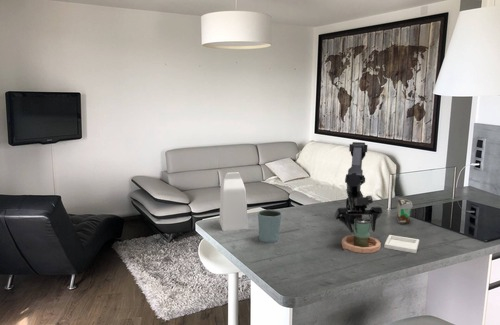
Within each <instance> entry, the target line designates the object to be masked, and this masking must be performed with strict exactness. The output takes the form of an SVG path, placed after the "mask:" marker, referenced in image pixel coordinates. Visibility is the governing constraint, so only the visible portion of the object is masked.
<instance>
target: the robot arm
mask: <svg viewBox="0 0 500 325" xmlns="http://www.w3.org/2000/svg"><path fill="white" fill-rule="evenodd" d="M348 151H349V153H350V156H351V166H350V167H349V168H348V170H347V174H346V175H345V179H344V183H346V194H347V197H346V199H345V200H346V202H345V203H346V204H345V207H338V208H337V209H336V211H335V214H334V216H335V219H336V220H338V221H339V222H342V223H343V224H344V225H345V227H347V229H348V230H349V232H350V233H354V229H353V226H352V224H355V221H354V219H355V218H364V216H367V215H368V217H369V218H368V219H369V220H370V228H371V230H372V232H373V233H374V232H375V231H376V225H377V224H376V223H377V220H378V218H380V217H381V215H382V213H384V211H383V208H382V207H381V206H371V208H370V209H367V208H368V206H369V205H370V204H373V195H366V196H364V195H363V192H362V191H361V186H362V185H364V183H366V177H365V175H364V174H363V172H364V171H363V169H362V167H363V160H364V158H365V157H366V153H368V144H366V143H365V142H361V141H360V142H357V141H352V143H350V144H349V148H348Z"/></svg>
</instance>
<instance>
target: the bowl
mask: <svg viewBox="0 0 500 325" xmlns="http://www.w3.org/2000/svg"><path fill="white" fill-rule="evenodd" d="M381 245H382V242H380V240H379V239H378V238H375V237H373V236H370V235H369V247H358V246H354V234H349V235H346V236H344V237H343V238H342V239H341V246H342V249H343V250H345V249H346V250H349V251H351V252H354V253H359V254H372V253H373V254H374V253H376V252H379V251H380V250H381V248H382V246H381Z"/></svg>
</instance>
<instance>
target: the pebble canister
mask: <svg viewBox="0 0 500 325" xmlns="http://www.w3.org/2000/svg"><path fill="white" fill-rule="evenodd" d="M369 219H370V218H366V217H363V218H355V219H354V221H355V223H353V224H354V226H353V227H354V228H353V235H354V246H358V247H369V236H370V228H371V224H370V220H369Z"/></svg>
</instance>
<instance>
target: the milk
mask: <svg viewBox="0 0 500 325" xmlns="http://www.w3.org/2000/svg"><path fill="white" fill-rule="evenodd" d="M219 188H220V190H219V192H220V195H219V224H220V227H221V229H222V231H223V232H224V231H225V232H226V231H237V230H239V231H241V230H249V222H248V220H249V219H248V204H247V203H248V202H247V200H248V199H247V190H246V186H245V184H244V180H243V178H242V176H241V173H240V172H237V171H236V172H226V174H225V176H224V178H223V179H222V182H221V184H220V187H219Z"/></svg>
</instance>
